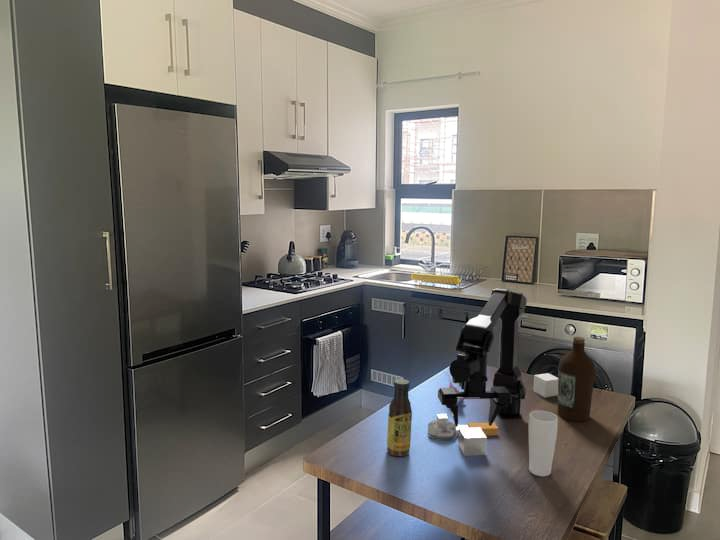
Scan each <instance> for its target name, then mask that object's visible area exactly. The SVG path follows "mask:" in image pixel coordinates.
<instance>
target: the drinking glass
mask: <svg viewBox="0 0 720 540" xmlns="http://www.w3.org/2000/svg"><path fill="white" fill-rule="evenodd" d="M558 419H559V417H558V416H557V415H556V413H553V412H550V411H548V410H543V409H542V410H541V409H539V410H532V411H530V413H529V417H528V425H527V426H528V458H529V459H528V461H529V462H528V470H529V471H530V473H531V474H533V475H534V476H536V477H537V476H538V477H543V478H544V477H548V476H550V475H551V473H552V469H553V468H552V467H553V460H554V455H555V448H556V441H557V436H558V427H559V426H558V421H559V420H558Z"/></svg>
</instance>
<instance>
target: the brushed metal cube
mask: <svg viewBox="0 0 720 540" xmlns="http://www.w3.org/2000/svg"><path fill="white" fill-rule="evenodd" d="M457 437H458V439H457V440H458V442H457V444H458V447H459V449H460V451H461V453H462V455H463V457H465V456H466V457H470V456H487V445H488V444H487V442H488V437H487V436H486V435H485V434H484V432H483V431H482V429H481V428H480V427H476V428H459V436H457Z"/></svg>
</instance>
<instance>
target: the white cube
mask: <svg viewBox="0 0 720 540" xmlns="http://www.w3.org/2000/svg"><path fill="white" fill-rule="evenodd" d="M532 390H533V391H532V392H534V393H536V394H537V395H539V396H541V397H543V398H549V397H556V396H557V397H558V376H555V375H553V374H551V373H549V372H546V373H540V374H534V376H533V388H532Z"/></svg>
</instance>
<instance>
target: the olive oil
mask: <svg viewBox="0 0 720 540" xmlns="http://www.w3.org/2000/svg"><path fill="white" fill-rule="evenodd" d="M585 340H586V339H585V338H584V337H581V336H574V337H573V342H572V348H571V350H570V351H569V352H567V353H566V354H565V355H563V357H562V358H560V361H559V363H558V368H557V371H558V372H557V373H558V374H557V378H558V395H557V408H556V409H557V410H556V412H557V415H558V416H559V417H561V418H562V419H565V420H568V421H571V422H586V421H588V420H589V419H590V417H591V416H590V415H591V407H592V400H593V399H592V397H593V391H594V385H595V384H594V383H595V378H596V365H595V363H594V361H593V360H592V358H591V357H590V355H588V354H587V353H586V351H585V347H586V346H585Z"/></svg>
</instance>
